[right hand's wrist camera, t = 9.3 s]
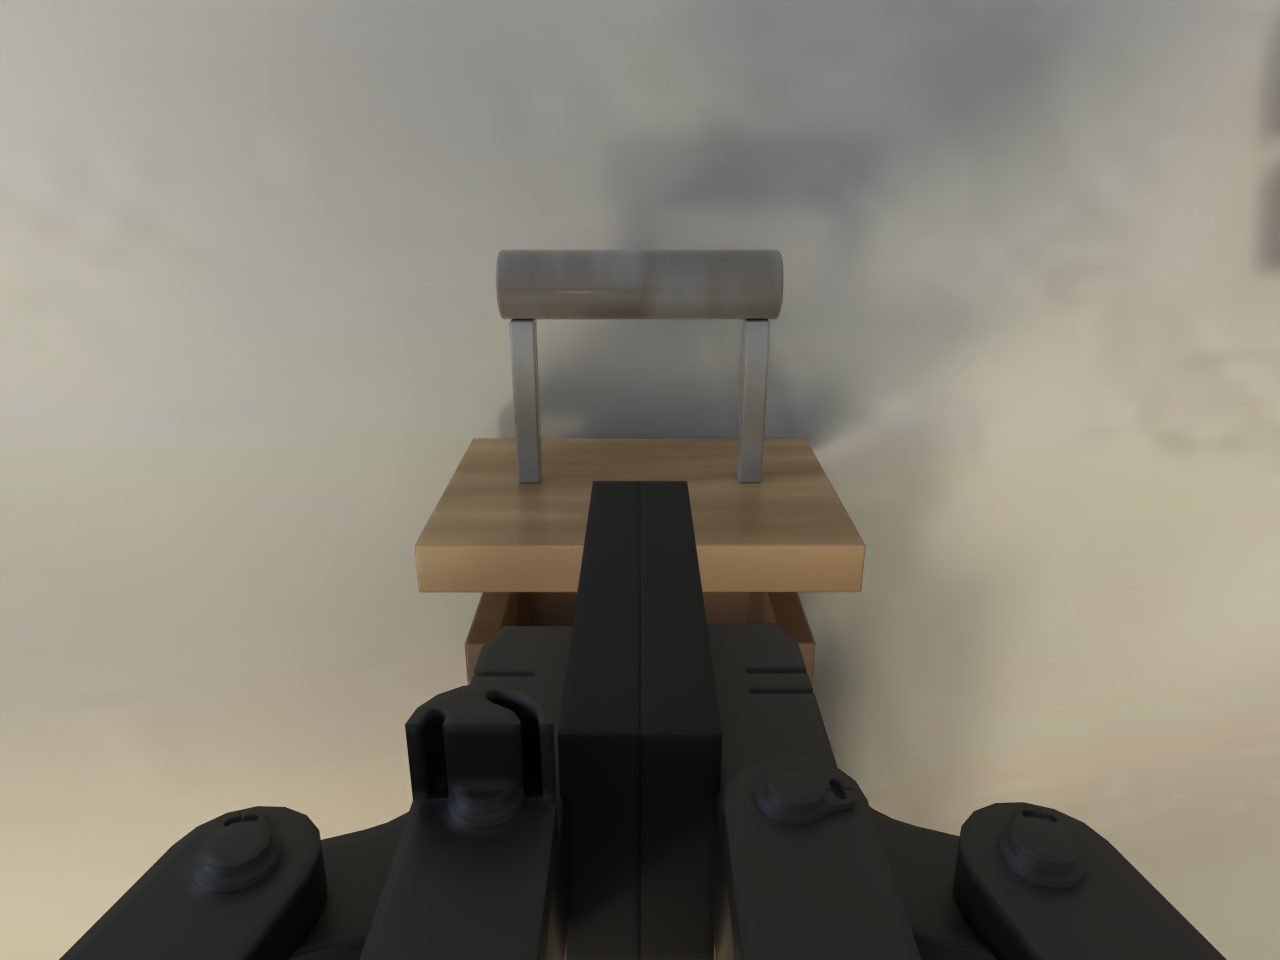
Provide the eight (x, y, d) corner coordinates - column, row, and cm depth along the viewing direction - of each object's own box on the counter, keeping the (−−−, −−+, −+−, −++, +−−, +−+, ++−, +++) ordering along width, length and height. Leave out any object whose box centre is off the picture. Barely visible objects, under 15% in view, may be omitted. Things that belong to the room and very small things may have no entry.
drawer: (459, 235, 25) (387, 273, 18) (820, 235, 25) (892, 274, 18) (507, 951, 35) (473, 1164, 27) (771, 951, 35) (806, 1164, 27)
